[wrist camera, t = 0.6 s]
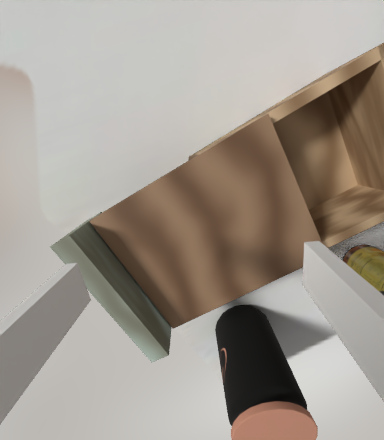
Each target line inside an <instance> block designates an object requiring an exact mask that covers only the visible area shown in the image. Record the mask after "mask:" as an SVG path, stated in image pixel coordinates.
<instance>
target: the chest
mask: <svg viewBox="0 0 384 440" xmlns="http://www.w3.org/2000/svg"><path fill="white" fill-rule="evenodd" d="M266 114H269V116H270V119H271V121H272V123H273V126H274V128H275V131H276V133H277V135H278V138H279V140H280V143H281V145H282V148H283V150H284V152H285V155H286V157H287V160H288V162H289V164H290V167H291V169H292V172H293V174H294V176H295V179H296V181H297V184H298V186H299V188H300V191H301V193H302V196H303V198H304V200H305V203H306V205H307V208H308V210H309V212H310V215H311V217H312V220H313V222H314V224H315V227H316V229H317V232H318V234H319V236H320V239H321V241H322V244H323V245H325V246H326V247H327V248H329V247H331V246H333V245H335V244H337V243H339V242H341V241H344V240H346V239H348V238H350V237H352V236H354V235H356V234H358V233H360V232H362V231H364V230H367V229H369V228H371V227H373V226H375V225H377V224H379V223H381V222H383V221H384V43H382V44H381V45H379V46H377V47H375V48H373V49H371V50H369V51H368V52H366V53H364V54H362V55H360V56H358V57H357V58H355V59H353V60H351V61H349V62H347V63H345V64H344V65H342V66H340V67H338V68H336V69H334V70H332V71H331V72H329V73H327V74H325V75H323V76H322V77H320V78H319V79H317V80H315V81H314V82H312V83H310V84H309V85H307V86H305V87H304V88H302V89H300V90H299V91H297V92H295V93H294V94H292V95H290V96H289V97H287V98H285V99H284V100H282V101H280V102H279V103H277V104H276V105H274V106H272V107H271V108H269V109H267V110H266V111H264V112H262V113H261V114H259V115H257V116H256V117H254V118H252V119H251V120H249V121H247V122H246V123H244V124H242V125H241V126H239V127H238V128H236V129H234V130H233V131H231V132H229V133H228V134H226V135H224V136H223V137H221V138H219V139H218V140H216V141H214V142H213V143H211V144H209V145H208V146H206V147H204V148H203V149H201V150H199V151H198V152H196V153H195V154H193V155H191V156H190V157H189V160H191V159H192V158H194V157H196V156H197V155H199V154H201V153H202V152H204V151H206V150H207V149H209V148H211V147H212V146H214V145H216V144H217V143H219V142H221V141H222V140H224V139H226V138H227V137H229V136H231V135H232V134H234V133H236V132H237V131H239V130H241V129H242V128H244V127H246V126H247V125H249V124H251V123H252V122H254V121H256V120H257V119H259V118H261V117H262V116H264V115H266Z"/></svg>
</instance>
